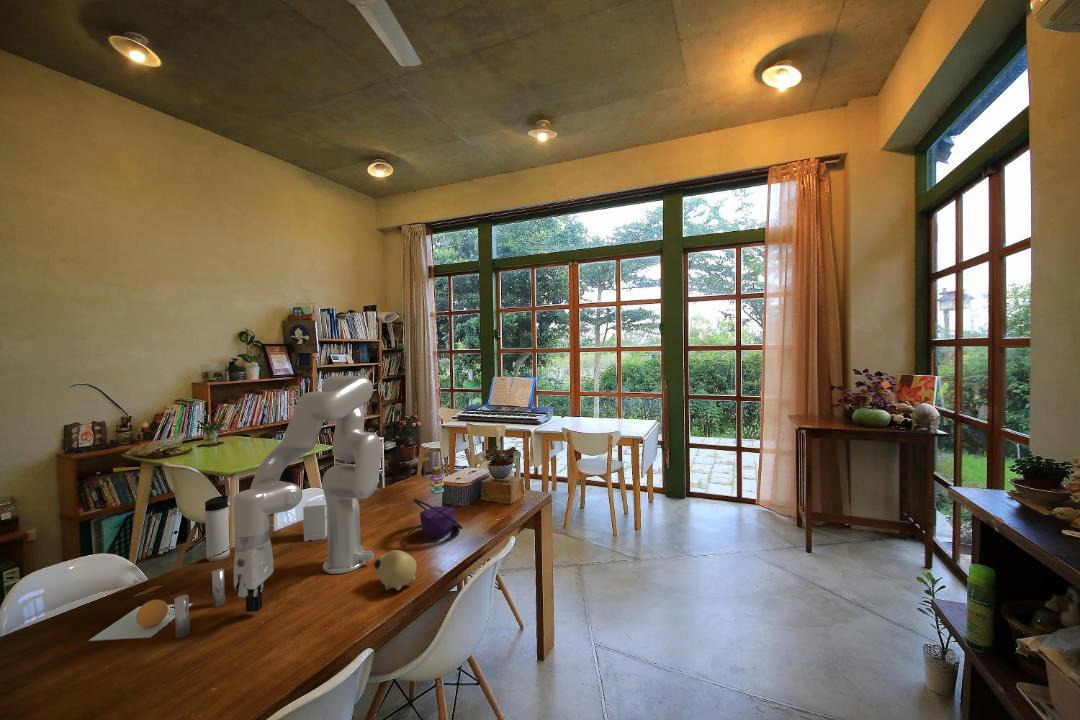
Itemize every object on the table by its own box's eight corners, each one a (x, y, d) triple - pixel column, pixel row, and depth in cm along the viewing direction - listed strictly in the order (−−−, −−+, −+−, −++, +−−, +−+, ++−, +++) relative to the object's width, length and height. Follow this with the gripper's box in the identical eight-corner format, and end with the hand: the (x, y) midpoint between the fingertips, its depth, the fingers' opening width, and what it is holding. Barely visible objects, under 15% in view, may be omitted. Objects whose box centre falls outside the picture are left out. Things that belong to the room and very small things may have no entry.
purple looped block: (480, 533, 162) (478, 466, 162) (432, 554, 146) (430, 479, 146) (442, 519, 177) (441, 457, 176) (395, 537, 161) (393, 468, 160)
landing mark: (193, 604, 119) (193, 603, 119) (150, 637, 105) (150, 636, 105) (139, 607, 118) (138, 606, 118) (88, 641, 104) (88, 640, 104)
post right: (227, 600, 120) (226, 568, 120) (220, 606, 118) (219, 572, 118) (217, 601, 120) (216, 568, 120) (210, 606, 118) (209, 573, 118)
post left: (192, 630, 107) (191, 594, 107) (184, 637, 105) (183, 600, 105) (181, 631, 107) (179, 594, 107) (172, 638, 105) (171, 600, 105)
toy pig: (396, 573, 134) (395, 538, 134) (423, 584, 127) (422, 547, 127) (368, 588, 125) (367, 551, 125) (396, 600, 119) (394, 561, 119)
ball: (160, 589, 113) (141, 606, 112) (144, 604, 107) (123, 622, 106) (179, 605, 114) (160, 621, 113) (163, 620, 108) (143, 637, 107)
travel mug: (235, 554, 150) (233, 495, 149) (215, 563, 143) (213, 501, 143) (222, 551, 152) (220, 494, 151) (202, 560, 145) (200, 500, 145)
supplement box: (325, 539, 160) (324, 504, 160) (303, 541, 158) (302, 506, 158) (330, 531, 167) (329, 498, 167) (309, 533, 166) (308, 500, 165)
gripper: (249, 551, 106) (252, 626, 106) (282, 526, 121) (284, 593, 121) (217, 552, 105) (219, 628, 106) (254, 528, 120) (256, 594, 121)
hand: (254, 609), depth 113 cm, fingers closed
